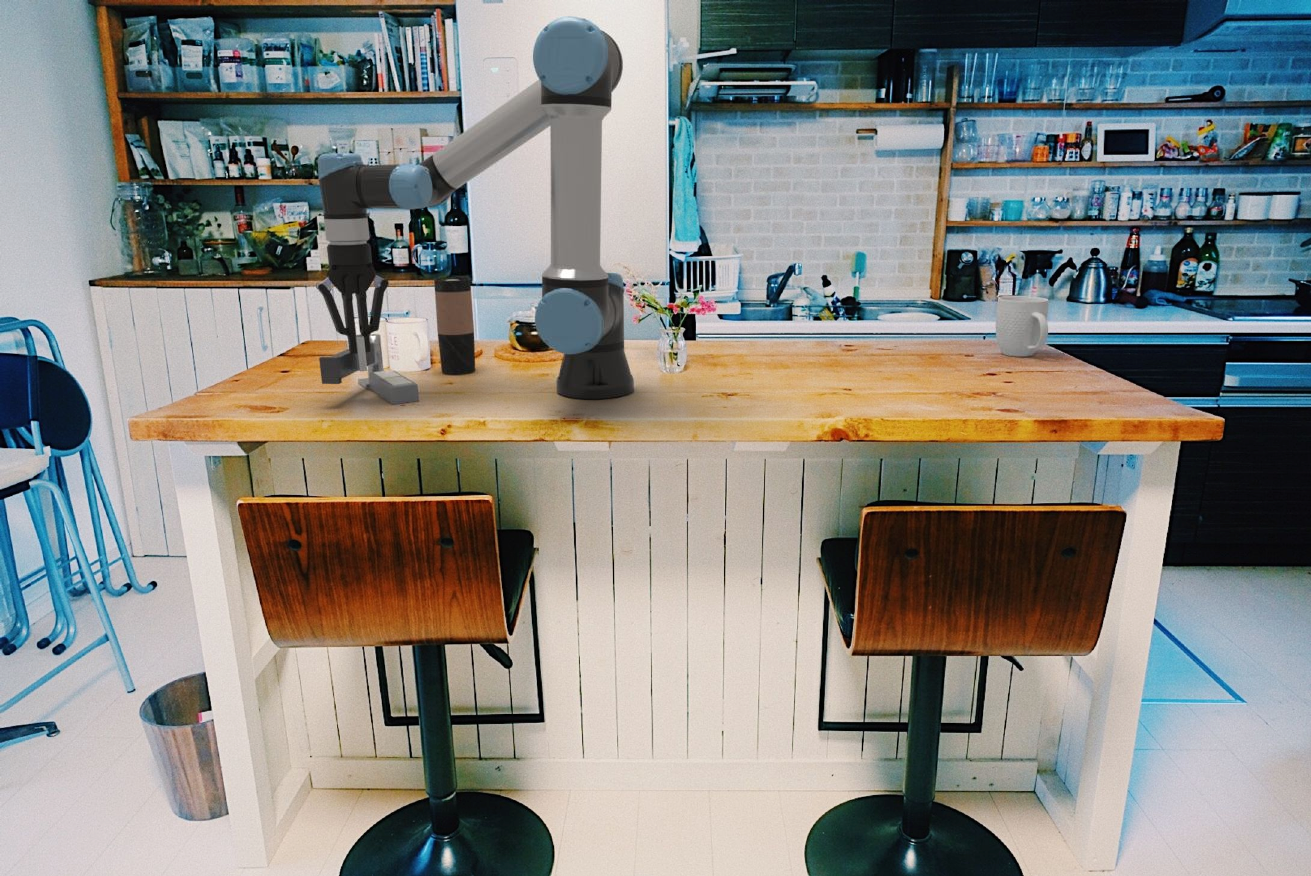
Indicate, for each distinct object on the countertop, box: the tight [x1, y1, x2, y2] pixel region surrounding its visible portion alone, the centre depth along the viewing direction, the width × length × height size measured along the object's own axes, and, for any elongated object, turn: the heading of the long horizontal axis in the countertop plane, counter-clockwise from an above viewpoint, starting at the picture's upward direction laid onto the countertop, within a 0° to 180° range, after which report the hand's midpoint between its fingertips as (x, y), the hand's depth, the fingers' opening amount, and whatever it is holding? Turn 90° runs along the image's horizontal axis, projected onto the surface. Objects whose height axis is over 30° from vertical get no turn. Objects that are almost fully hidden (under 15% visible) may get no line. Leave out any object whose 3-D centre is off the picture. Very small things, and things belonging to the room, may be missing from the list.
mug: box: [995, 295, 1050, 358], centre depth 205 cm, size 15×11×13 cm
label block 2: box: [380, 376, 420, 405], centre depth 169 cm, size 8×5×4 cm, turn 32°
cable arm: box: [318, 342, 375, 385], centre depth 169 cm, size 18×3×5 cm, turn 174°
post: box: [357, 333, 385, 389], centre depth 180 cm, size 6×6×10 cm
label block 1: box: [368, 369, 405, 398], centre depth 175 cm, size 8×5×4 cm, turn 32°
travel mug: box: [433, 276, 476, 376], centre depth 190 cm, size 8×8×20 cm
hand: (361, 369), depth 168 cm, fingers closed
